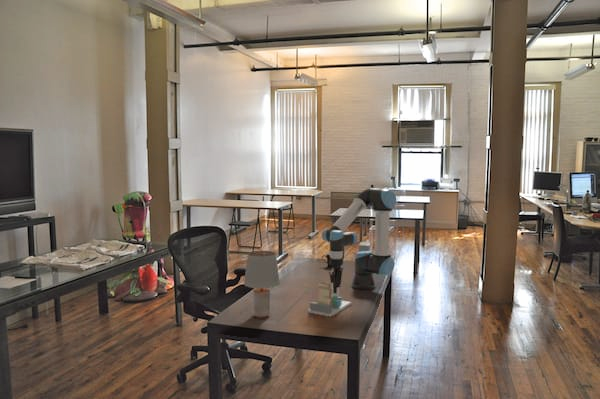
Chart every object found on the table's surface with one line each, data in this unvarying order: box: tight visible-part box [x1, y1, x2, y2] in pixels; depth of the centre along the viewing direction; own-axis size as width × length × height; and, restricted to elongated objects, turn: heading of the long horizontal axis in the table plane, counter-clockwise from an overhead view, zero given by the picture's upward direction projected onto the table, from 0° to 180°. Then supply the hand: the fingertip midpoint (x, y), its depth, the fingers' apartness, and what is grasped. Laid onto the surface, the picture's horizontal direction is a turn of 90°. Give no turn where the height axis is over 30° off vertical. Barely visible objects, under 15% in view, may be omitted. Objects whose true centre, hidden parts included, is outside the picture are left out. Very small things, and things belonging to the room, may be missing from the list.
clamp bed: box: [307, 300, 352, 318], centre depth 272 cm, size 25×14×6 cm, turn 148°
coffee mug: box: [321, 252, 332, 268], centre depth 372 cm, size 12×9×10 cm
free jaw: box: [333, 296, 343, 309], centre depth 274 cm, size 8×12×4 cm
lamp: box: [243, 250, 281, 319], centre depth 258 cm, size 19×19×34 cm
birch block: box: [317, 281, 333, 308], centre depth 267 cm, size 6×6×14 cm
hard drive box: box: [358, 241, 371, 252], centre depth 361 cm, size 16×8×20 cm, turn 168°
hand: (335, 298), depth 278 cm, fingers closed
